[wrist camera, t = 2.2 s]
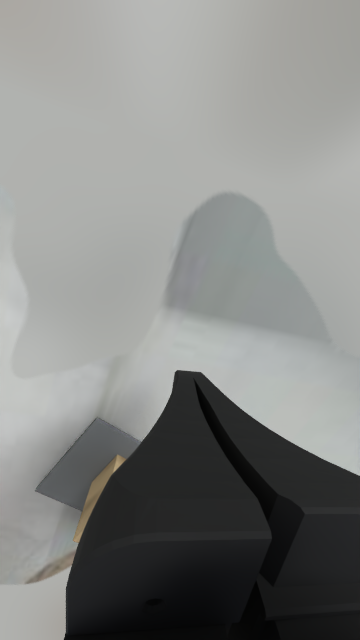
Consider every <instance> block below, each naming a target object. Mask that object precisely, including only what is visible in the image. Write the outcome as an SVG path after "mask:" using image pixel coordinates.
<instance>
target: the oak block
mask: <svg viewBox="0 0 360 640" xmlns="http://www.w3.org/2000/svg"><path fill="white" fill-rule="evenodd" d="M125 460H126V459H125V458H123V457H121V456H120V455H118V454H117V455H116V457H115V458H114V459H113V460H112V461H111V462H110V463H109V464H108V465H107V466H106V467H105V469H104V470H103V471H102V472H101V473H100V474H99V475H98V476H97V477H96V478H95V479H94V480H93V482H92V483H91V486H90V489H89V492H88V496H87V499H86V502H85V505H84V508H83V511H82V514H81V517H80V520H79V523H78V526H77V529H76V532H75V535H74V538H73V541H74V542H77V543H79V541H80V538H81V536H82V533H83V530H84V528H85V526H86V523H87V521H88V519H89V516H90V514H91V512H92V510H93V508H94V506H95V504H96V502H97V500H98V498H99V496H100V494H101V493H102V491H103V489H104V487H105V485H106V483H107V482H108V480H109V478H110V476H111V475H112V474H113V473H114V472H115V471H116V470H117V469H118V467H119V466H120V465H121V464H122V463H123V462H124V461H125Z"/></svg>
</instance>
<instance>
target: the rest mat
mask: <svg viewBox="0 0 360 640" xmlns="http://www.w3.org/2000/svg"><path fill="white" fill-rule="evenodd" d="M140 443H141V442H140V441H138V440H136V439H135V438H133V437H131V436H129V435H128V434H126V433H124V432H122V431H121V430H119V429H117V428H115V427H113V426H112V425H110V424H108V423H106V422H105V421H103V420H101V419H99V418H98V417H97V418H96V419H95V420H94V421H93V423H92V424H91V425H90V426H89V427H88V428H87V430H86V431H85V432H84V433H83V434H82V435H81V437H80V438H79V439H78V440H77V441H76V442H75V444H74V445H73V446H72V447H71V448H70V449H69V451H68V452H67V453H66V454H65V455H64V456H63V458H62V459H61V460H60V461H59V462H58V463H57V465H56V466H55V467H54V468H53V469H52V470H51V472H50V473H49V474H48V475H47V476H46V477H45V479H44V480H43V481H42V482H41V483H40V484H39V485H38V487H37V488H36V490H35V491H36V492H38V493H41V494H43V495H46V496H48V497H50V498H53V499H55V500H57V501H60V502H62V503H64V504H67V505H69V506H71V507H74V508H76V509H79V510H81V511H83V508H84V505H85V502H86V499H87V496H88V492H89V489H90V486H91V483H92V482H93V480H94V479H95V478H96V477H97V476H98V475H99V474H100V473H101V472H102V471H103V470H104V469H105V467H106V466H107V465H108V464H109V463H110V462H111V461H112V460H113V459H114V458H115V457H116V455H117V454H118V455H120V456H121V457H123V458H125V459H127V458H128V457H129V456H130V455H131V454H132V453H133V452H134V451H135V450H136V448H137V447H138V446H139V445H140Z"/></svg>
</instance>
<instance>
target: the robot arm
mask: <svg viewBox="0 0 360 640" xmlns="http://www.w3.org/2000/svg"><path fill="white" fill-rule="evenodd" d="M64 640H360V476H358V475H356V474H354V473H352V472H350V471H347V470H345V469H343V468H341V467H339V466H336V465H334V464H332V463H330V462H328V461H325V460H323V459H321V458H319V457H318V456H316V455H314V454H312V453H310V452H308V451H306V450H304V449H302V448H300V447H298V446H297V445H295V444H293V443H291V442H290V441H288V440H286V439H284V438H283V437H281V436H280V435H278V434H276V433H275V432H273V431H271V430H270V429H268V428H267V427H265V426H264V425H262V424H261V423H259V422H258V421H256V420H255V419H254V418H252V417H251V416H249V415H248V414H247V413H245V412H244V411H243V410H242V409H240V408H239V407H238V406H237V405H236V404H234V403H233V402H232V401H231V400H230V399H229V398H227V397H226V396H225V395H224V394H223V393H222V392H221V391H220V390H219V389H218V388H217V387H216V386H215V385H214V384H213V383H212V382H211V381H210V380H209V379H208V378H206V377H205V376H204V375H203V374H202V373H201V372H192V371H181V370H177V371H176V372H175V376H174V382H173V389H172V393H171V396H170V398H169V400H168V403H167V405H166V407H165V409H164V410H163V412H162V414H161V416H160V417H159V419H158V420H157V422H156V424H155V425H154V427H153V428H152V429H151V431H150V432H149V434H148V435H147V436H146V437H145V439H144V440H143V441H142V442H141V443H140V445H139V446H138V447H137V448H136V450H135V451H134V452H133V453H132V454H131V455H130V456H129V457H128V458H127V459H126V460H125V461H124V462H123V463H122V464H121V465H120V466H119V467H118V469H117V470H116V471H115V472H114V473H113V474H112V475H111V476H110V478H109V480H108V482H107V483H106V485H105V487H104V489H103V491H102V493H101V494H100V496H99V498H98V500H97V502H96V504H95V506H94V508H93V510H92V512H91V514H90V516H89V519H88V521H87V523H86V526H85V528H84V530H83V533H82V536H81V538H80V541H79V544H78V547H77V550H76V554H75V557H74V561H73V564H72V567H71V571H70V574H69V578H68V582H67V587H66V634H65V638H64Z"/></svg>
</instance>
